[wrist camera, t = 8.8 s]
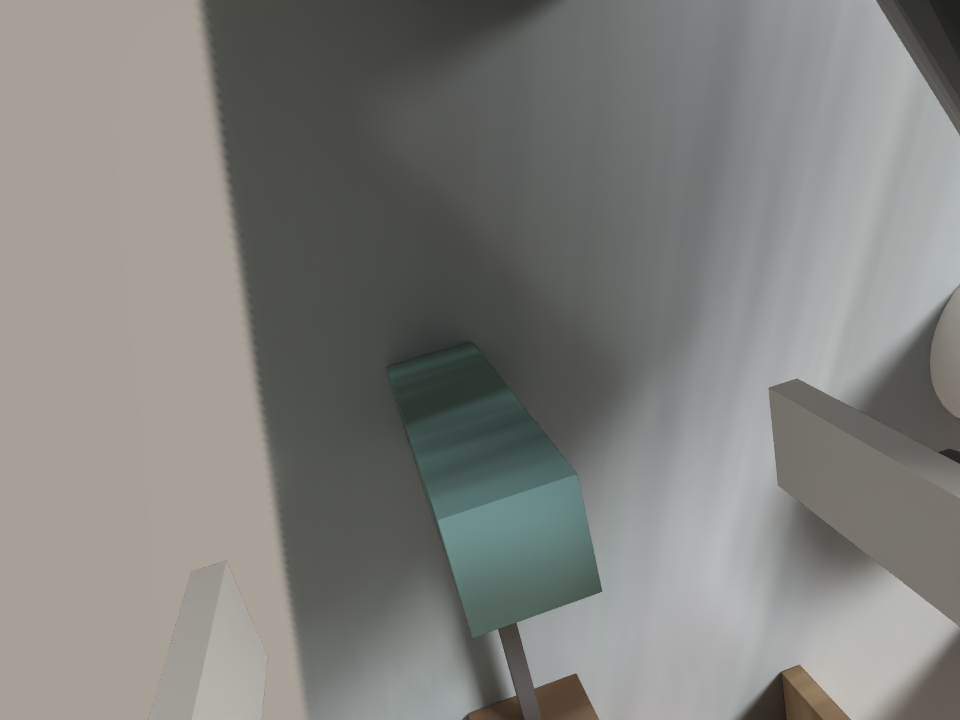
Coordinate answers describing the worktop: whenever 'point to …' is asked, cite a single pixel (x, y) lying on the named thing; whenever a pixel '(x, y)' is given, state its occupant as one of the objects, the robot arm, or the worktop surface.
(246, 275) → the worktop surface
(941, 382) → the cup
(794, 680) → the shelf
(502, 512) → the tether block
